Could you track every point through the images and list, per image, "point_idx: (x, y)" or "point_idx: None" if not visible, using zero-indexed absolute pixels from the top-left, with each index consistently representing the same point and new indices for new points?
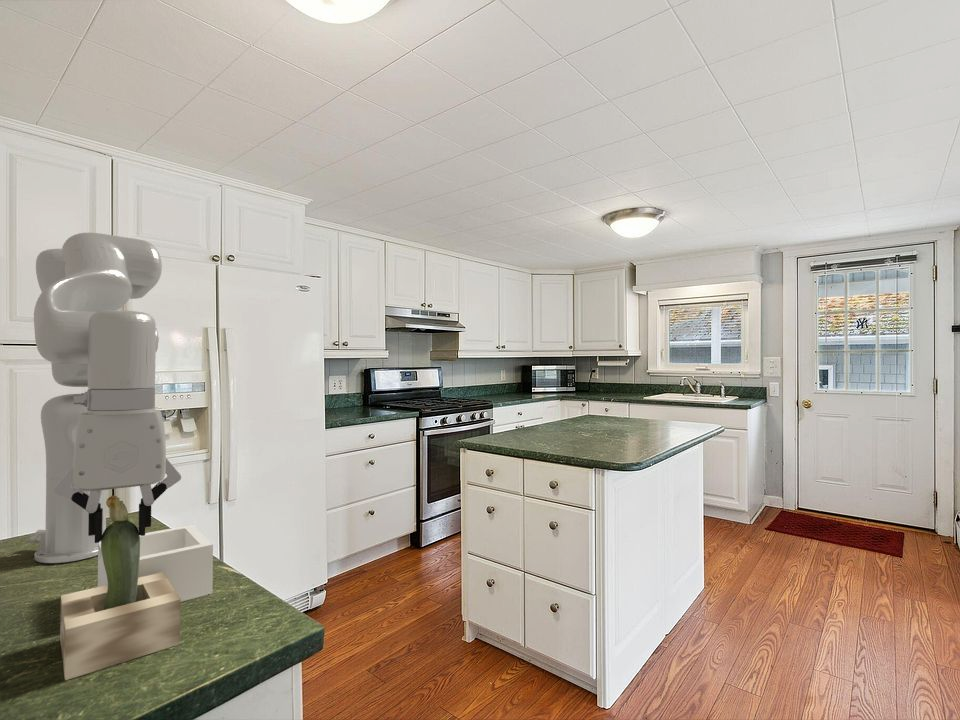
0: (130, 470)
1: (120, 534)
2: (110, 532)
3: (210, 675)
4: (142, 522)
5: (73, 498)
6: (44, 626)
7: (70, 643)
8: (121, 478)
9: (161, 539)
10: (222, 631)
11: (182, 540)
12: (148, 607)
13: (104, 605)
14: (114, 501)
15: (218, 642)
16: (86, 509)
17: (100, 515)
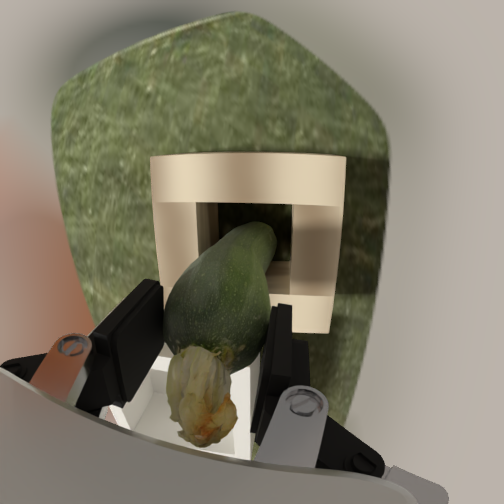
0: (5, 488)
1: (212, 292)
2: (241, 315)
3: (170, 42)
4: (133, 300)
5: (377, 462)
6: (329, 349)
7: (333, 155)
8: (88, 478)
9: (167, 433)
10: (127, 156)
11: (142, 421)
12: (204, 155)
13: (267, 282)
14: (199, 417)
15: (138, 124)
16: (324, 404)
17: (268, 366)
